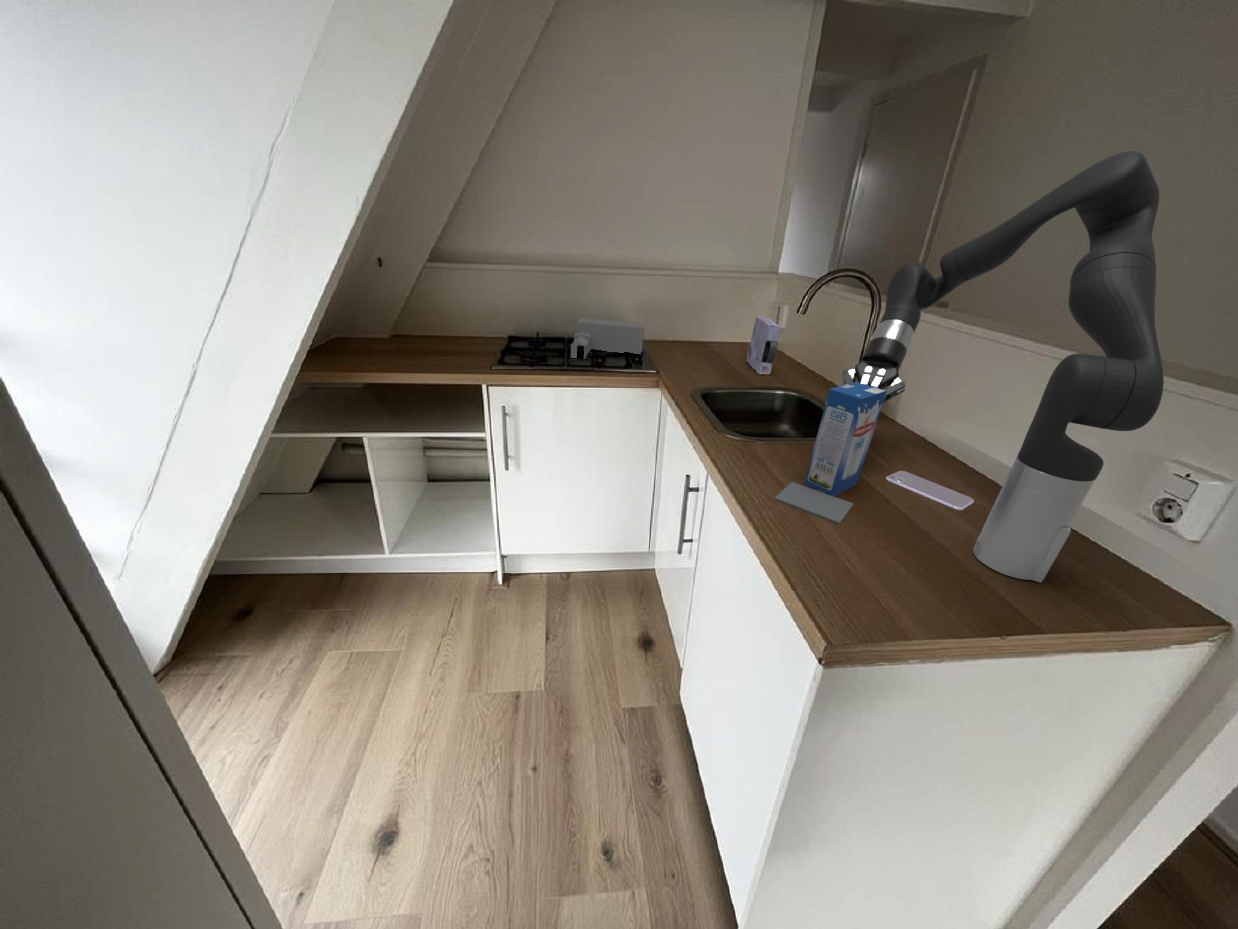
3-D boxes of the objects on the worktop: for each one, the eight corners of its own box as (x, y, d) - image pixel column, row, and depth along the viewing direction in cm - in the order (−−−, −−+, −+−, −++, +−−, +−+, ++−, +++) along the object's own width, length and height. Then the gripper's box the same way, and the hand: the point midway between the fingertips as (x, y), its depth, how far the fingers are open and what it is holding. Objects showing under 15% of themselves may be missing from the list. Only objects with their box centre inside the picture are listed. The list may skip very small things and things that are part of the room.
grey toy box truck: (569, 359, 176) (570, 328, 171) (580, 345, 197) (581, 317, 192) (639, 365, 175) (642, 334, 170) (642, 350, 195) (644, 322, 191)
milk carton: (828, 472, 105) (855, 381, 96) (856, 483, 101) (887, 390, 92) (803, 484, 99) (829, 388, 90) (832, 497, 95) (862, 398, 86)
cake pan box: (772, 377, 173) (783, 326, 165) (758, 376, 172) (768, 325, 165) (757, 363, 190) (767, 316, 182) (745, 362, 190) (753, 315, 182)
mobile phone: (961, 508, 93) (884, 476, 104) (959, 512, 94) (883, 480, 104) (976, 498, 98) (901, 468, 108) (975, 502, 98) (900, 472, 109)
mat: (853, 505, 92) (853, 503, 92) (839, 524, 86) (840, 522, 86) (791, 483, 99) (791, 481, 99) (774, 499, 92) (774, 497, 92)
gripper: (920, 364, 103) (890, 433, 99) (854, 352, 110) (824, 416, 106) (925, 341, 97) (893, 415, 93) (855, 330, 104) (823, 398, 100)
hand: (856, 415), depth 100 cm, fingers closed
